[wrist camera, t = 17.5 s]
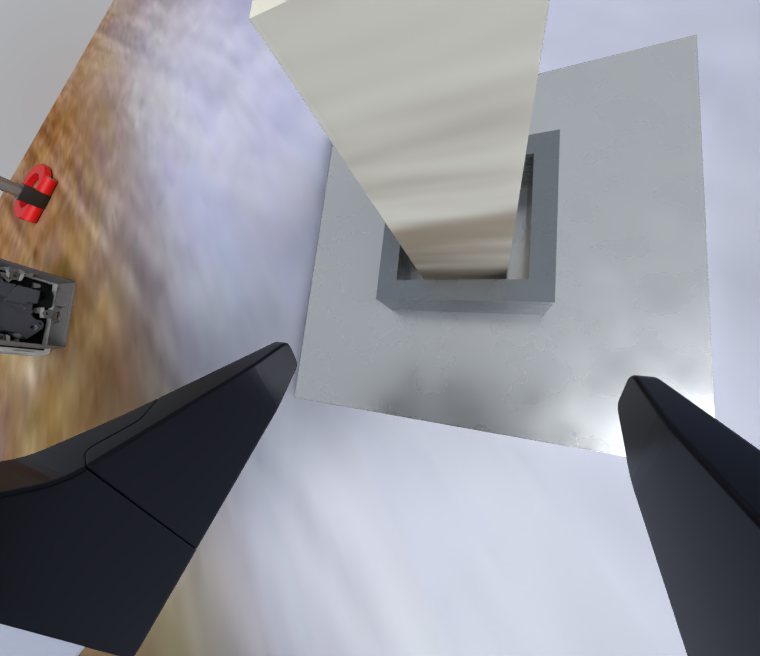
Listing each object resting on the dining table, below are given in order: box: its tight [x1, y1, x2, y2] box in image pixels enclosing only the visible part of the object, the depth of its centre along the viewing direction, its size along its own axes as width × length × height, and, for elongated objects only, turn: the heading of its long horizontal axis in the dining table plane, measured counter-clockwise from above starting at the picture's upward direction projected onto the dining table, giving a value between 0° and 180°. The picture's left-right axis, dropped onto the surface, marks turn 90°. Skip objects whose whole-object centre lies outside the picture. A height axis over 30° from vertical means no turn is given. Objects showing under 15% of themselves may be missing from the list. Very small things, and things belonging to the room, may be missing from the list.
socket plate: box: [295, 35, 715, 457], centre depth 15 cm, size 20×20×4 cm
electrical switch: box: [0, 259, 76, 356], centre depth 29 cm, size 9×5×9 cm, turn 3°
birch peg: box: [249, 0, 550, 280], centre depth 10 cm, size 4×4×13 cm
